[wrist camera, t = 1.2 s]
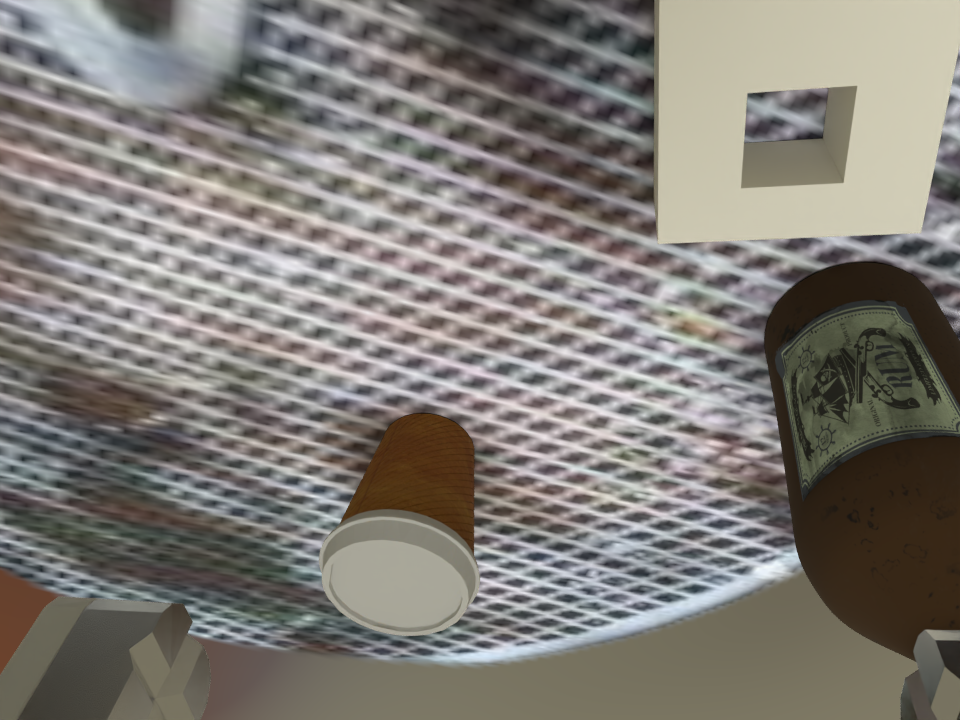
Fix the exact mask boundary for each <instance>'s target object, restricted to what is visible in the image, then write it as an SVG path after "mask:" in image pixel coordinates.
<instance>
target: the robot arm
mask: <svg viewBox="0 0 960 720" xmlns="http://www.w3.org/2000/svg"><path fill="white" fill-rule="evenodd" d="M191 624H192V620H191V618H190V616H189V614H188V612H187V610H186V608H185V606H184V604H177V603H161V602H145V601H129V600H113V599H99V598H76V597H58V598H56V599H55V600H54V601H52V602H51V603H50V604H48V605H47V606H45V608H44V609H43V610H42V612H41V613H40V615H39V616H38V618H37V620H36V621H35V623H34V624H33V626H32V627H31V629H30V630H29V632H28V633H27V635H26V636H25V638H24V640H23V641H22V643H21V644H20V646H19V647H18V649H17V650H16V652H15V653H14V655H13V656H12V658H11V660H10V661H9V662H8V664H7V665H6V667H5V669H4V670H3V672H2V673H1V675H0V720H200V719H201V717H202V714H203V712H204V709H205V707H206V704H207V700H208V693H209V687H210V680H211V673H210V665H209V659H208V656H207V654H206V651H205V649H204V647H203V645H201V644H200V643H198V642H197V641H196V640H194V639H193V638H192V637H190V636H189V635H188V634H187V633H188V631H189V629H190V626H191ZM913 653H914V656H915V659H916V662H917V665H918V670H917V671H915V672H914V673H912V674H911V675H909V676H908V677H906V678H905V681H904V686H903V690H902V694H901V720H960V630H924V631H923V632H922V633H921V634H920V635H918V638H917V641H916V644H915V647H914V650H913Z"/></svg>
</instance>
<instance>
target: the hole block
mask: <svg viewBox="0 0 960 720" xmlns="http://www.w3.org/2000/svg"><path fill="white" fill-rule="evenodd" d="M959 46H960V0H654V205H655V216H656V228H657V240H658V244H667V243H691V242H715V241H739V240H764V239H788V238H812V237H836V236H860V235H884V234H908V233H921V229H922V225H923V220H924V215H925V210H926V205H927V201H928V196H929V191H930V186H931V181H932V176H933V172H934V167H935V162H936V157H937V152H938V147H939V143H940V138H941V133H942V128H943V123H944V118H945V114H946V109H947V104H948V99H949V94H950V89H951V85H952V80H953V75H954V70H955V65H956V60H957V56H958V51H959ZM816 88H829V91H828V99H827V107H826V115H825V123H824V131H823V139H806V140H789V141H772V142H755V143H744V135H745V120H746V105H747V93H757V92H772V91H786V90H801V89H816Z"/></svg>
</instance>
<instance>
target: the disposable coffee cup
mask: <svg viewBox="0 0 960 720" xmlns="http://www.w3.org/2000/svg"><path fill="white" fill-rule="evenodd" d="M474 454H475V453H474V446H473V443H472V440H471V439H470V437H469V435H468V434H467V433H466V431H465V430H464V429H463V428H462V427H460V426H459V425H458V424H456V423H455V422H453V421H451V420H449V419H447V418H444V417H441V416H438V415H433V414H411V415H408V416H404V417H402V418H400V419H398V420H396V421H395V422H394V423H392V424H391V425H390V426H389V428H388V429H387V430H386V432H385V435H384V437H383V439H382V441H381V443H380V445H379V447H378V449H377V451H376V453H375V455H374V457H373V459H372V461H371V462H370V465H369V466H368V468H367V470H366V473H365V474H364V476H363V479H362V480H361V482H360V485H359V486H358V488H357V490H356V492H355V494H354V496H353V498H352V500H351V502H350V504H349V506H348V508H347V510H346V512H345V514H344V516H343V518H342V520H341V523H340V525H338V526H337V527H336V528H335V529H334V530H333V531H332V532H331V533H330V534H329V536H328V537H327V538H326V539H325V541H324V543H323V545H322V548H321V550H320V556H319V564H320V569H321V572H322V583H323V588H324V590H325V593H326V595H327V597H328V598H329V599H330V601H331V602H332V603H333V604H334V605H335V606H336V607H337V609H338V610H339V611H340V612H341V613H343V614H344V615H346V616H347V617H348V618H350V619H352V620H353V621H355V622H357V623H358V624H360V625H363V626H366V627H368V628H371V629H373V630H376V631H380V632H384V633H388V634H394V635H406V636H415V635H427V634H431V633H434V632H438V631H442V630H444V629H446V628H447V627H449V626H451V625H452V624H454V623H456V622H457V621H458V620H459V619H460V617H461V616H462V615H463V614H464V612H465V611H466V609H467V607H468V606H469V605H470V604H471V603H472V602H473V600H474V598H475V596H476V595H477V593H478V589H479V583H480V575H479V570H478V566H477V562H476V559H475V557H474V519H473V518H474V497H473V496H474Z"/></svg>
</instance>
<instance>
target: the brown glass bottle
mask: <svg viewBox="0 0 960 720" xmlns="http://www.w3.org/2000/svg"><path fill="white" fill-rule="evenodd" d="M764 345H765V353H766V359H767V364H768V370H769V375H770V381H771V386H772V391H773V397H774V402H775V408H776V415H777V421H778V428H779V434H780V441H781V447H782V454H783V461H784V467H785V474H786V481H787V488H788V496H789V503H790V510H791V517H792V524H793V532H794V538H795V544H796V548H797V552H798V556H799V559H800V562H801V564H802V567H803V569H804V571H805V573H806V575H807V577H808V579H809V580H810V582H811V584H812V585H813V587H814V588H815V590H816V591H817V593H818V595H819V596H820V598H821V599H822V600H823V602H824V603H825V604H826V606H827V607H828V608H829V609H830V610H831V611H832V613H833V614H834V615H836V617H838V618H839V619H840V620H841V621H842V622H843V623H844V624H846V625H847V626H848V627H850V628H851V629H853V630H854V631H856V632H857V633H859V634H861V635H862V636H864V637H866V638H868V639H870V640H872V641H873V642H876V643H878V644H880V645H882V646H884V647H886V648H888V649H890V650H892V651H895V652H897V653H899V654H901V655H903V656H905V657H907V658H909V659H912V660H914V661H916V659H915V656H914V653H913V650H914V647H915V644H916V641H917V638H918V635H920V634H921V633H922V632H923V631H924V630H960V341H959V339H958V337H957V336H956V334H955V332H954V331H953V329H952V327H951V325H950V324H949V322H948V320H947V319H946V317H945V315H944V314H943V312H942V310H941V309H940V307H939V305H938V304H937V302H936V300H935V299H934V297H933V295H932V294H931V293H930V291H929V290H928V289H927V287H926V286H925V285H924V284H923V283H922V282H921V281H919V280H918V279H917V278H916V277H914V276H913V275H911V274H909V273H908V272H906V271H903V270H901V269H899V268H896V267H893V266H889V265H884V264H878V263H851V264H845V265H840V266H835V267H832V268H829V269H826V270H823V271H820V272H818V273H816V274H814V275H812V276H810V277H808V278H806V279H805V280H803V281H801V282H800V283H798V284H797V285H796V286H794V287H793V288H792V289H791V290H790V291H788V292H787V293H786V294H785V295H784V296H783V297H782V299H781V300H780V301H779V302H778V304H777V305H776V306H775V308H774V310H773V311H772V313H771V315H770V317H769V320H768V322H767V326H766V330H765V338H764Z"/></svg>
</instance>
